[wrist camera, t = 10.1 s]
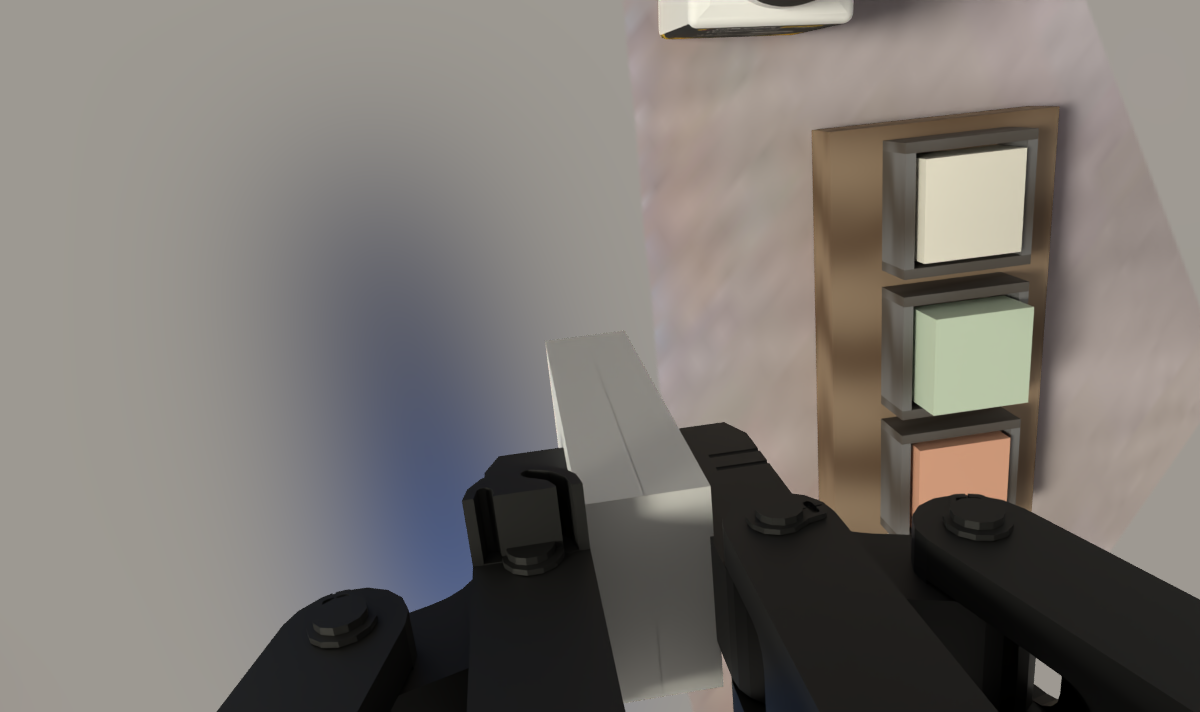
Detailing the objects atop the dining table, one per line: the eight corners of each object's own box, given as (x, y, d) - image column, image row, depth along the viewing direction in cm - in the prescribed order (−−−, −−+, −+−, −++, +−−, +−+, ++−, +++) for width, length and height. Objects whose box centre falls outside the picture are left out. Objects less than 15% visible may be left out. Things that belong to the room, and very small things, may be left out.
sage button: (911, 307, 42) (936, 319, 40) (1004, 295, 43) (1034, 306, 40) (909, 398, 44) (933, 415, 41) (999, 386, 44) (1028, 402, 42)
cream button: (901, 155, 41) (926, 159, 39) (996, 144, 42) (1027, 147, 39) (900, 254, 43) (924, 263, 40) (992, 243, 43) (1021, 251, 41)
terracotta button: (898, 432, 46) (920, 450, 43) (984, 420, 46) (1010, 437, 44) (897, 513, 47) (918, 535, 45) (980, 500, 48) (1005, 521, 45)
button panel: (811, 130, 43) (850, 134, 38) (1029, 106, 44) (1093, 107, 39) (819, 520, 50) (853, 564, 45) (1006, 492, 51) (1058, 532, 46)
